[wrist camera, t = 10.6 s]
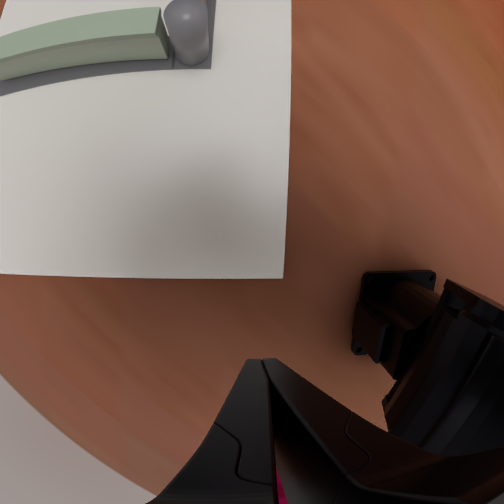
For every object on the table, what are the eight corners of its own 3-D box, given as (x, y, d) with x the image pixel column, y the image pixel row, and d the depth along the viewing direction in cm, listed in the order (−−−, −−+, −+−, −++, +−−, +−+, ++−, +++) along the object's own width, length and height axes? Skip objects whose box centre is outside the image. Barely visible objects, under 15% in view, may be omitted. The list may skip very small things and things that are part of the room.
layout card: (287, -64, 15) (306, -110, 9) (281, 275, 21) (305, 313, 15) (23, -33, 12) (-8, -63, 6) (-10, 270, 18) (-57, 297, 13)
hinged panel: (170, 39, 16) (159, 6, 11) (167, 61, 16) (154, 33, 12) (5, 63, 14) (-30, 47, 10) (1, 83, 15) (-36, 71, 10)
